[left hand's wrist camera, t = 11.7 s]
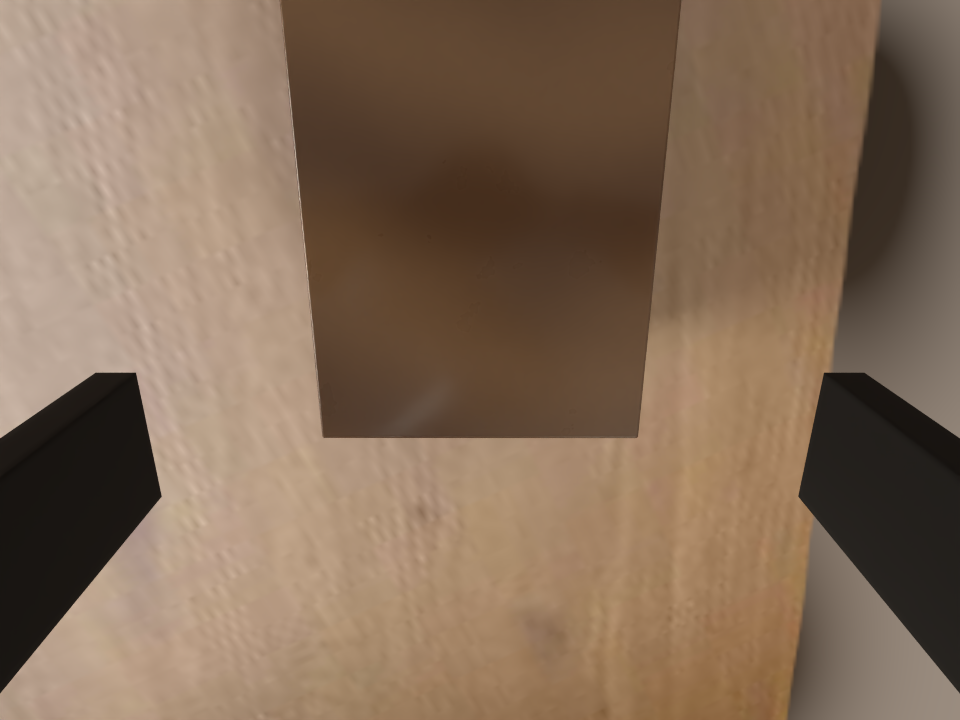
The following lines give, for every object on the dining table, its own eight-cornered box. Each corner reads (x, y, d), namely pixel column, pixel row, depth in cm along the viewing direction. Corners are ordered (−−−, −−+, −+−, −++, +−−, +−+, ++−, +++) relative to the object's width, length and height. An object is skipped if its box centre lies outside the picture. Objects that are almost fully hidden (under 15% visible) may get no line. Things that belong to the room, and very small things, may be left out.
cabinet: (342, -71, 24) (261, -179, 15) (618, -71, 24) (700, -178, 15) (369, 339, 30) (322, 438, 21) (591, 339, 30) (638, 438, 21)
